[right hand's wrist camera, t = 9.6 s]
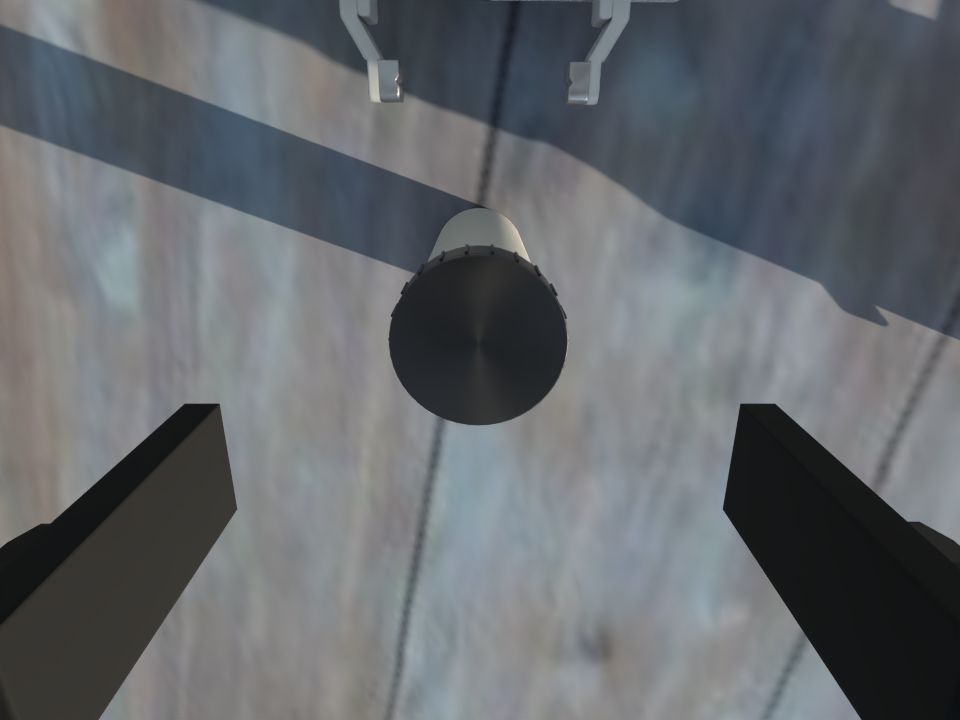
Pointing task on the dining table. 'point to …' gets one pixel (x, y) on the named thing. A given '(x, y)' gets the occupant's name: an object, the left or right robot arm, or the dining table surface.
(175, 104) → the dining table surface
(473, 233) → the white cylindrical tube
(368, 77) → the left robot arm
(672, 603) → the dining table surface
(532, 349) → the lid
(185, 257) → the dining table surface
